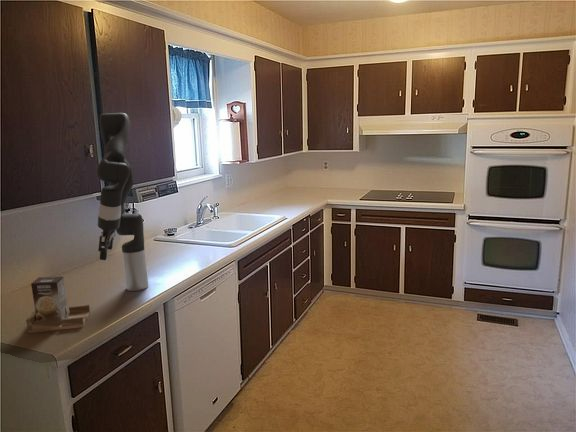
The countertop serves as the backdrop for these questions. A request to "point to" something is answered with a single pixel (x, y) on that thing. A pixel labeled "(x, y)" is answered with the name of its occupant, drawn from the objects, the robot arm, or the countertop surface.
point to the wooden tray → (74, 320)
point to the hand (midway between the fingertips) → (106, 254)
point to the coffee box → (49, 298)
